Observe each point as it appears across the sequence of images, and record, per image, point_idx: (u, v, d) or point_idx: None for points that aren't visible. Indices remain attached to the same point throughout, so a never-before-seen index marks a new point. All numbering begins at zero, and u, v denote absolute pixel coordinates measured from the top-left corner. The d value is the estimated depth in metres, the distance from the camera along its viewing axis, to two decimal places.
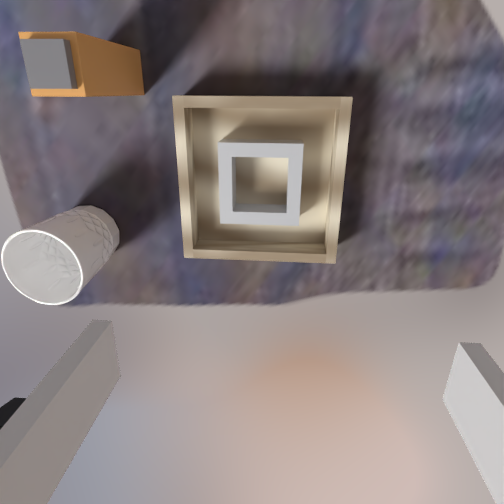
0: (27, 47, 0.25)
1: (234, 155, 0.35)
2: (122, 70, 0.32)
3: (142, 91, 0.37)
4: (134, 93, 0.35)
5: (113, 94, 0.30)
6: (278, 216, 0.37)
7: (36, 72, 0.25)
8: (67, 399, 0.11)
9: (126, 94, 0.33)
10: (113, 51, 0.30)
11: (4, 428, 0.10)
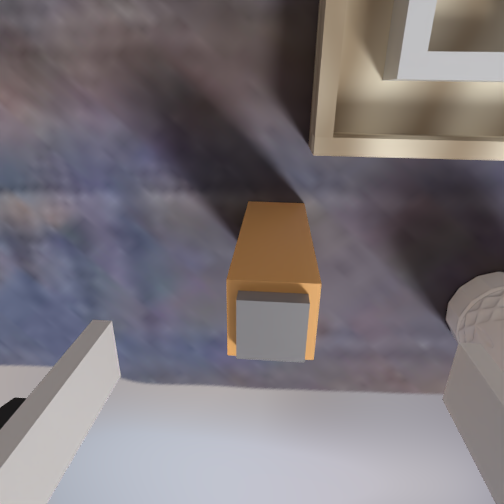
0: (247, 351, 0.16)
1: (426, 45, 0.19)
2: (275, 224, 0.22)
3: (299, 204, 0.26)
4: (304, 214, 0.24)
5: (310, 241, 0.20)
6: None
7: (282, 348, 0.16)
8: (67, 399, 0.11)
9: (306, 224, 0.22)
10: (251, 231, 0.21)
11: (4, 428, 0.10)
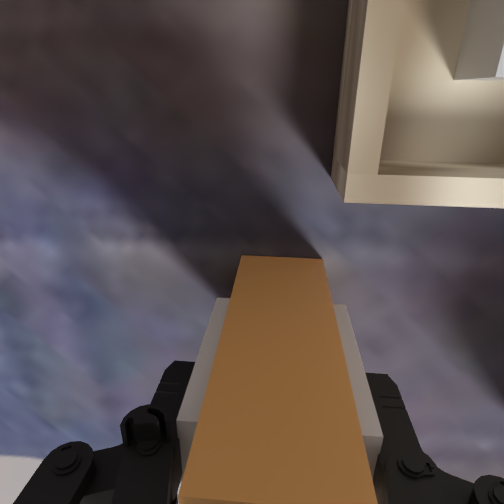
0: None
1: None
2: (280, 309, 0.14)
3: (316, 262, 0.18)
4: (324, 284, 0.16)
5: (341, 356, 0.11)
6: None
7: None
8: None
9: (330, 307, 0.14)
10: (241, 327, 0.13)
11: (192, 381, 0.11)
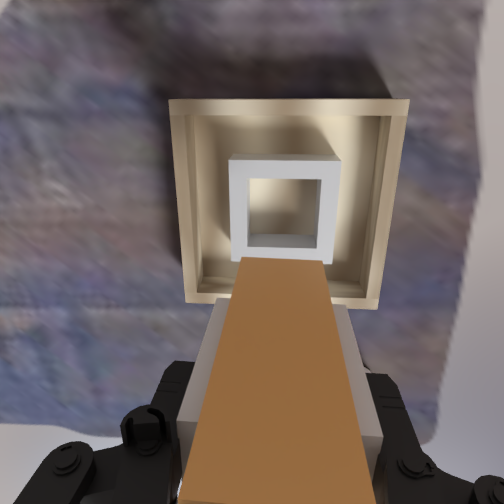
0: None
1: (245, 243, 0.29)
2: (280, 311, 0.14)
3: (316, 264, 0.18)
4: (324, 286, 0.16)
5: (340, 358, 0.11)
6: (326, 190, 0.27)
7: None
8: None
9: (330, 309, 0.14)
10: (241, 330, 0.13)
11: (192, 380, 0.11)
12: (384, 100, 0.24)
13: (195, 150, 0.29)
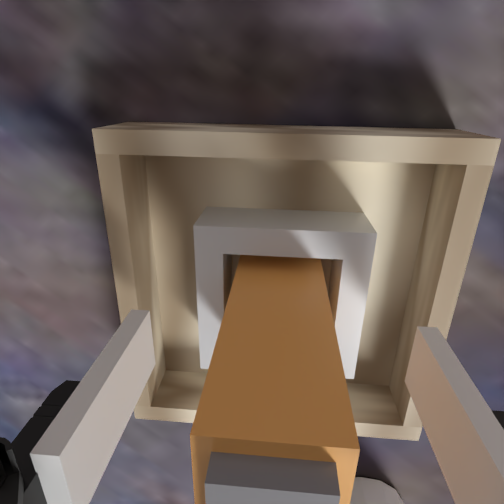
0: None
1: None
2: (279, 291, 0.15)
3: None
4: (319, 270, 0.17)
5: (332, 329, 0.13)
6: (349, 276, 0.17)
7: None
8: (116, 382, 0.12)
9: (324, 290, 0.15)
10: (243, 306, 0.14)
11: (66, 406, 0.10)
12: (456, 139, 0.14)
13: (148, 200, 0.19)
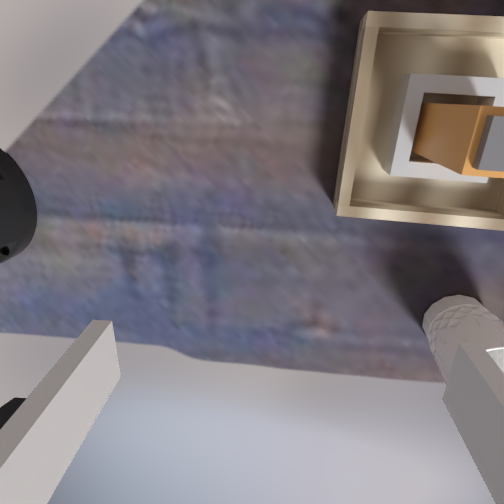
0: (489, 163, 0.22)
1: (407, 158, 0.31)
2: None
3: None
4: None
5: None
6: None
7: None
8: (67, 399, 0.11)
9: None
10: None
11: (4, 428, 0.10)
12: None
13: None
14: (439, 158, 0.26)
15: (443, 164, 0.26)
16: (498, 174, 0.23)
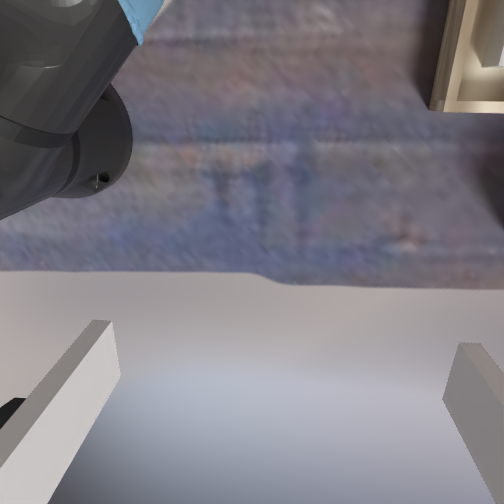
0: None
1: None
2: None
3: None
4: None
5: None
6: None
7: None
8: (67, 399, 0.11)
9: None
10: None
11: (4, 428, 0.10)
12: None
13: None
14: None
15: None
16: None
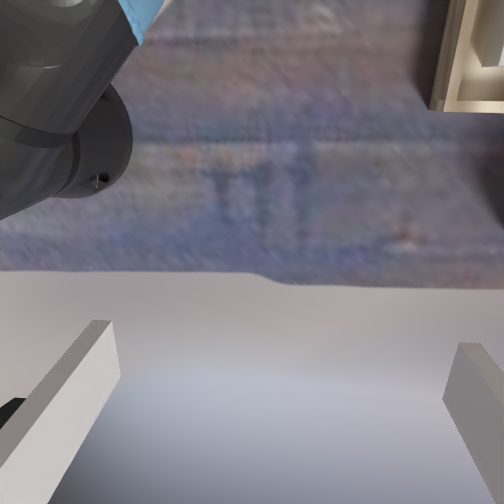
0: None
1: None
2: None
3: None
4: None
5: None
6: None
7: None
8: (67, 399, 0.11)
9: None
10: None
11: (4, 428, 0.10)
12: None
13: None
14: None
15: None
16: None
